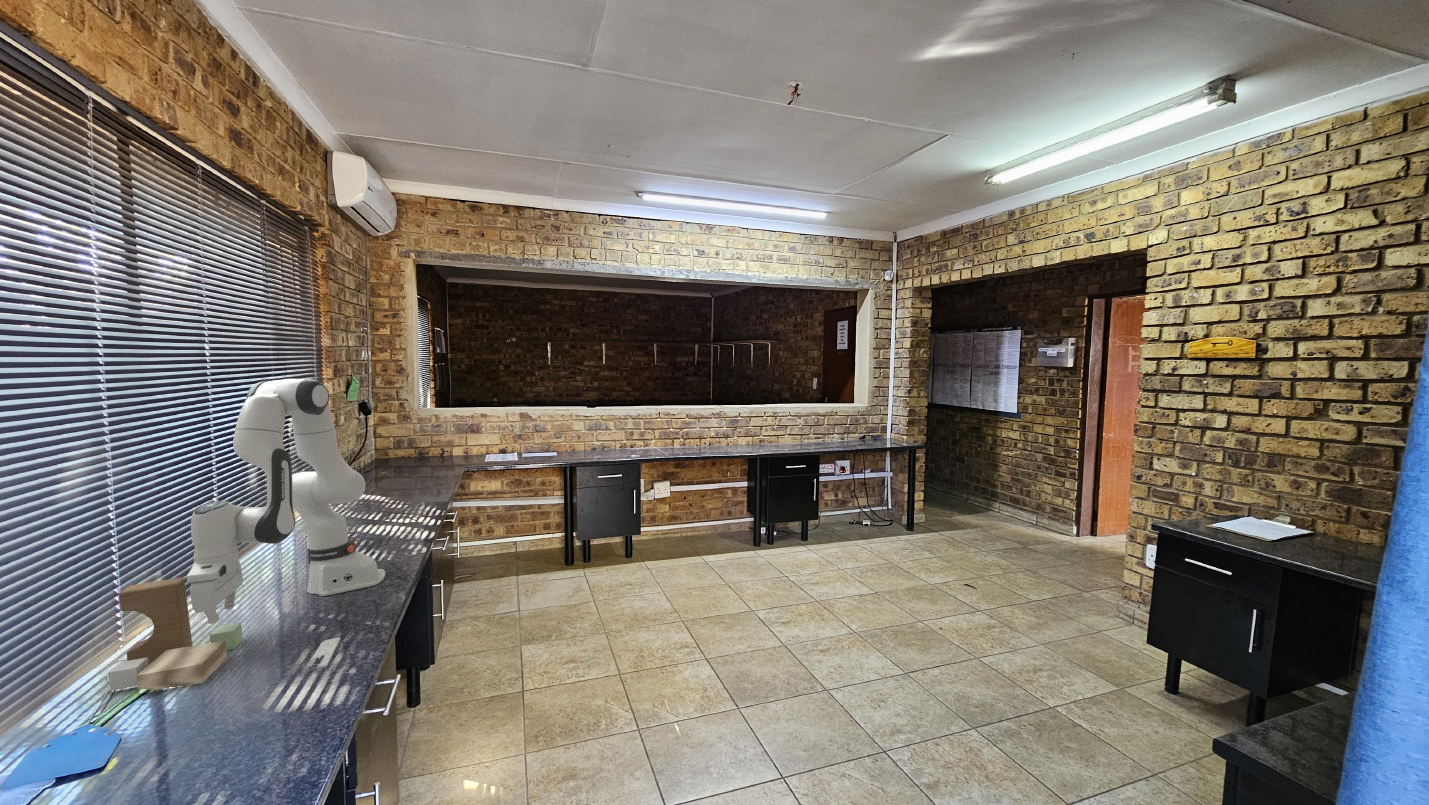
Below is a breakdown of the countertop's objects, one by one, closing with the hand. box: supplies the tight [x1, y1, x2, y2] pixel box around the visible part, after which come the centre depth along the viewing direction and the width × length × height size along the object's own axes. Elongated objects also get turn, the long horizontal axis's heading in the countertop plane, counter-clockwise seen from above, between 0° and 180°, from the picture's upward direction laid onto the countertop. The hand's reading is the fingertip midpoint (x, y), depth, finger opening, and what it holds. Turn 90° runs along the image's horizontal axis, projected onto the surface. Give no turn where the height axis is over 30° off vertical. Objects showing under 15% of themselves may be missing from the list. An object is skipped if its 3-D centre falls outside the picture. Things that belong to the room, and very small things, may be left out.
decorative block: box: [118, 576, 193, 664], centre depth 146 cm, size 11×6×20 cm, turn 115°
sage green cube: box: [209, 622, 244, 651], centre depth 153 cm, size 5×5×5 cm
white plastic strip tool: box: [311, 637, 341, 669], centre depth 147 cm, size 5×15×1 cm, turn 22°
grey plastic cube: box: [107, 657, 149, 692], centre depth 135 cm, size 5×5×5 cm
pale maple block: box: [136, 641, 228, 691], centre depth 139 cm, size 12×12×5 cm
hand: (222, 615), depth 151 cm, fingers open, 8 cm apart
